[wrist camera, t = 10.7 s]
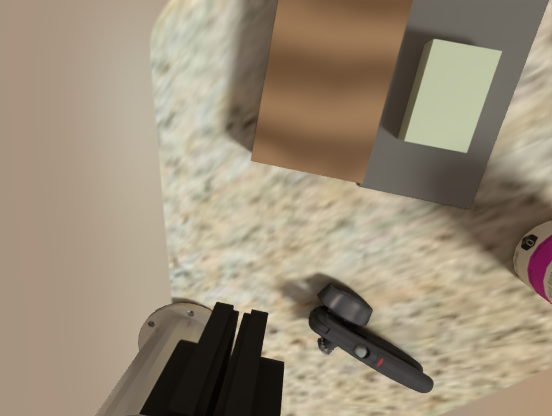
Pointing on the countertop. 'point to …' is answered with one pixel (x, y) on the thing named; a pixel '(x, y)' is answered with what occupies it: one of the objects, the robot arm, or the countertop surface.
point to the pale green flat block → (448, 94)
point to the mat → (470, 166)
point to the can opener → (362, 338)
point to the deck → (328, 84)
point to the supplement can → (536, 260)
